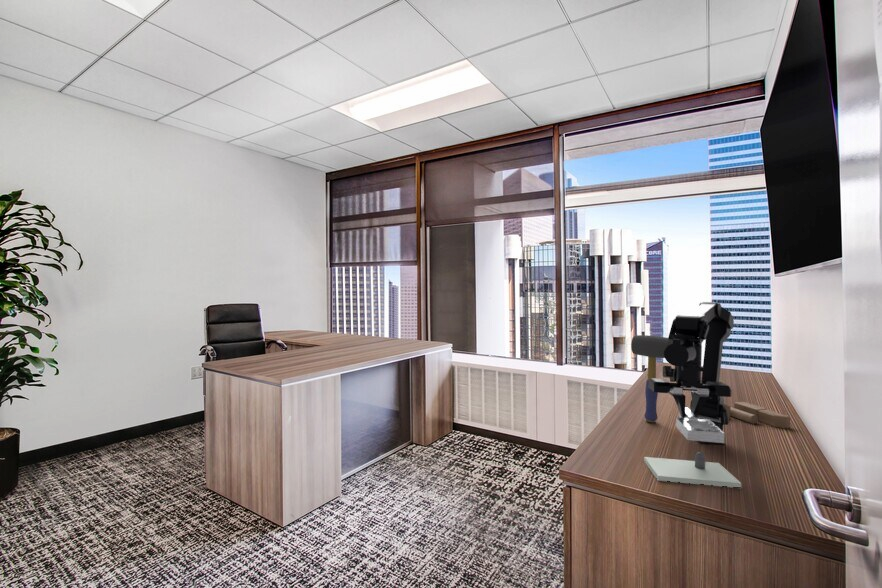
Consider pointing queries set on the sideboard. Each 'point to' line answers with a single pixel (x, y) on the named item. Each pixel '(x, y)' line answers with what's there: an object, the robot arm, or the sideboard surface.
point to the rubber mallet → (650, 366)
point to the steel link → (698, 428)
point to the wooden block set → (757, 415)
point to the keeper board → (691, 471)
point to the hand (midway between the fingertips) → (687, 418)
